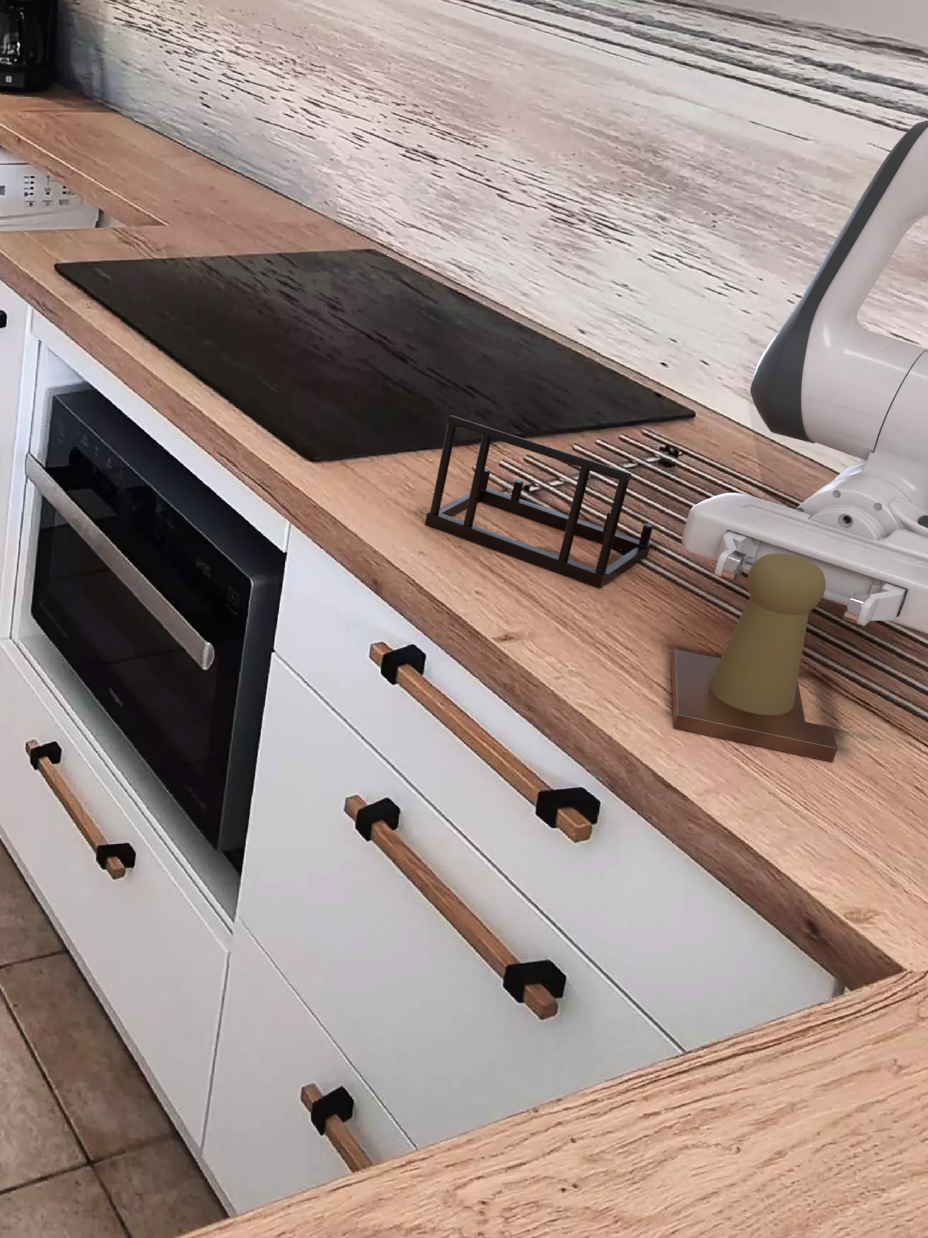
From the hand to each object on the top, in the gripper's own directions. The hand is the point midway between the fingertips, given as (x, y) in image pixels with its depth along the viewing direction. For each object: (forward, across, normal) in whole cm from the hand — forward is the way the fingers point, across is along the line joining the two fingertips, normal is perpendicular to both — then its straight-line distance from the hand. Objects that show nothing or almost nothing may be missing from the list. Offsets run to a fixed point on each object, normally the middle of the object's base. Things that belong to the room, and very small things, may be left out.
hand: (789, 590), depth 120 cm
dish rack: (-16, -26, +10) cm, 31 cm away
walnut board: (+1, 0, +10) cm, 10 cm away
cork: (+1, 0, +9) cm, 9 cm away
